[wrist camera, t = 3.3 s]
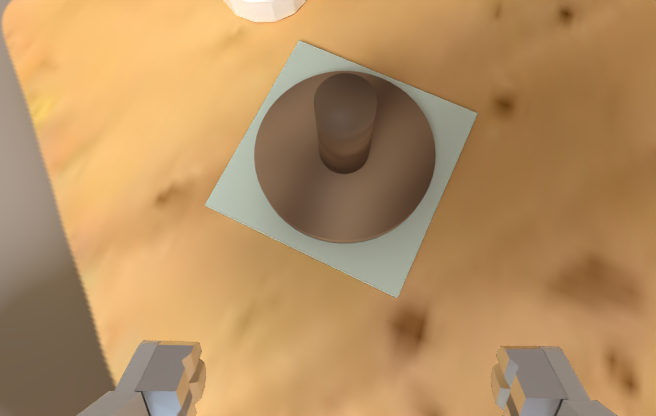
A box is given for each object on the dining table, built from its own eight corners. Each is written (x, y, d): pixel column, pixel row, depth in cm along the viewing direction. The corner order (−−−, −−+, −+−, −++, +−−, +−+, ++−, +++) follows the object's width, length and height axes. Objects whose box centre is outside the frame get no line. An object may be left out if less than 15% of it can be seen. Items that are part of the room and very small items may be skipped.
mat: (475, 116, 28) (477, 113, 28) (396, 298, 25) (397, 297, 25) (299, 44, 30) (299, 40, 29) (207, 207, 27) (204, 204, 27)
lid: (457, 119, 28) (496, 50, 21) (389, 274, 25) (408, 255, 18) (304, 57, 29) (293, -26, 22) (226, 198, 27) (186, 154, 20)
